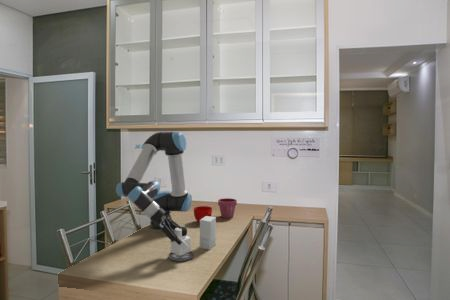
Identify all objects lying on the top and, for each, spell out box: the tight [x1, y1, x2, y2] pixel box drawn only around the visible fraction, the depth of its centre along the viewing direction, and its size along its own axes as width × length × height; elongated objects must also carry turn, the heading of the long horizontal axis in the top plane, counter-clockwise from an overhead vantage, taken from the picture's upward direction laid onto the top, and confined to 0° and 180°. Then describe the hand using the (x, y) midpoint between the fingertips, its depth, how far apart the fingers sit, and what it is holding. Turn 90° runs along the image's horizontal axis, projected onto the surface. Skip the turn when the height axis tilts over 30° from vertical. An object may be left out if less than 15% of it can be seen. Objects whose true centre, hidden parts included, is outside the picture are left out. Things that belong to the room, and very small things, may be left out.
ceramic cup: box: [193, 205, 213, 224], centre depth 192 cm, size 13×17×10 cm
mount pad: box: [168, 251, 194, 263], centre depth 135 cm, size 12×12×1 cm
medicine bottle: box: [170, 226, 192, 256], centre depth 135 cm, size 7×7×12 cm
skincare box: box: [199, 216, 217, 250], centre depth 148 cm, size 8×7×16 cm
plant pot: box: [217, 197, 238, 219], centre depth 208 cm, size 14×14×13 cm
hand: (187, 243), depth 135 cm, fingers closed on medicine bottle, 10 cm apart
